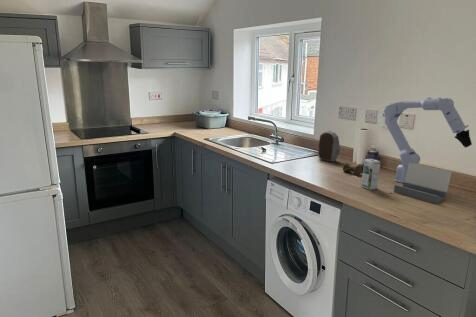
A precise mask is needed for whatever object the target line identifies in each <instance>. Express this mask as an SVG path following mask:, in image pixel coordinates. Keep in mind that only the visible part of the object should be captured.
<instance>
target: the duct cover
mask: <svg viewBox="0 0 476 317" xmlns="http://www.w3.org/2000/svg"><path fill="white" fill-rule="evenodd" d="M452 174H453V171H452V170H447V169H441V168H438V167H432V166H430V165H429V166H428V165H423V164H419V163H418V164H414V163H409V164H408V169H407V174H406V178H405V182H408V183H412V184H416V185H420V186H424V187H428V188H432V189H436V190H440V191H444V192H446V193H448V190H449V186H450V181H451V177H452Z"/></svg>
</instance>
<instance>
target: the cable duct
mask: <svg viewBox="0 0 476 317" xmlns="http://www.w3.org/2000/svg"><path fill="white" fill-rule="evenodd" d="M393 193H397V194H401V195H404V196H407V197H410V198H413V199H414V198H415V199H418V200H422V201H426V202H429V203H431V204H439V203H441V202H443V201H445V200H446V197H447V192H444V191H440V190H436V189H432V188H428V187H424V186H420V185H416V184H412V183H408V182H403V183H402V185H399V184H395V185H394V188H393Z"/></svg>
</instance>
